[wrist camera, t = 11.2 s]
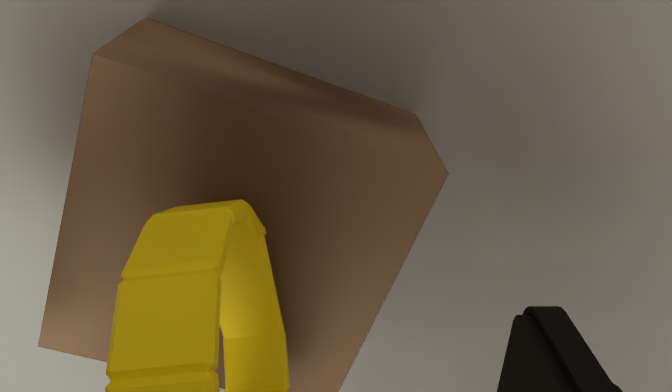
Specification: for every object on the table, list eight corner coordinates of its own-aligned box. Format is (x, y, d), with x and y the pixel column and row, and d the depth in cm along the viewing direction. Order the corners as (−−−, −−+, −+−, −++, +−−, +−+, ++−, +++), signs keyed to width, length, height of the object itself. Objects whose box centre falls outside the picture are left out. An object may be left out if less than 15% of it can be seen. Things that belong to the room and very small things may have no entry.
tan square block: (413, 110, 15) (448, 173, 11) (322, 311, 18) (328, 412, 14) (148, 15, 13) (92, 53, 10) (95, 251, 16) (38, 346, 13)
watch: (151, 166, 11) (-26, 367, 6) (287, 151, 11) (239, 341, 6) (211, 398, 14) (127, 695, 8) (325, 387, 14) (317, 683, 8)
